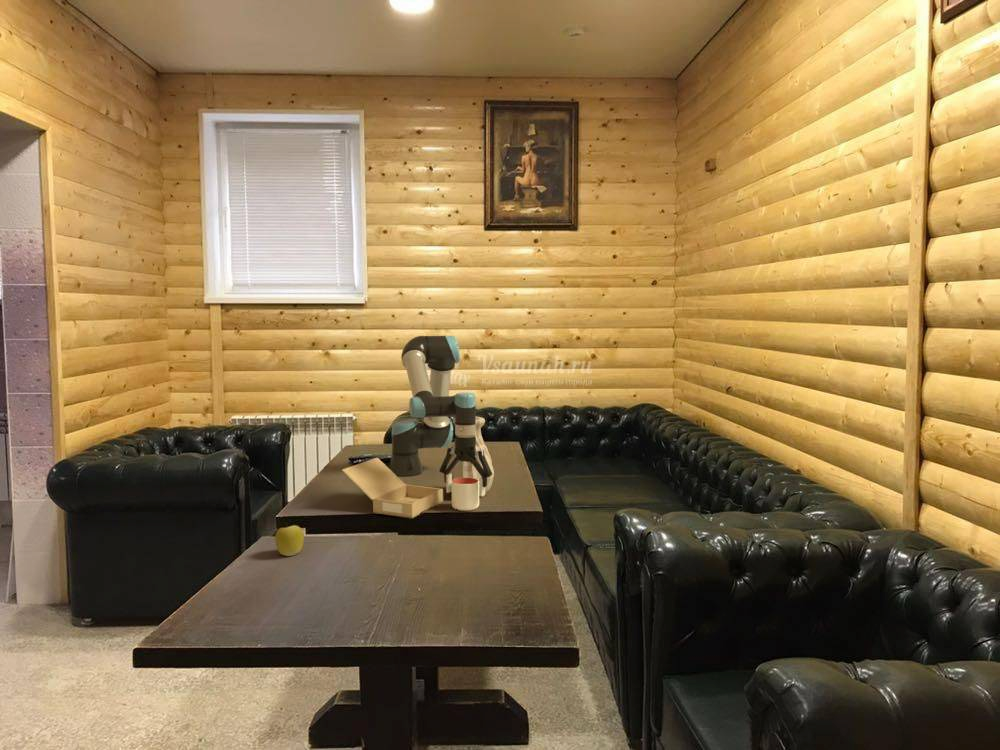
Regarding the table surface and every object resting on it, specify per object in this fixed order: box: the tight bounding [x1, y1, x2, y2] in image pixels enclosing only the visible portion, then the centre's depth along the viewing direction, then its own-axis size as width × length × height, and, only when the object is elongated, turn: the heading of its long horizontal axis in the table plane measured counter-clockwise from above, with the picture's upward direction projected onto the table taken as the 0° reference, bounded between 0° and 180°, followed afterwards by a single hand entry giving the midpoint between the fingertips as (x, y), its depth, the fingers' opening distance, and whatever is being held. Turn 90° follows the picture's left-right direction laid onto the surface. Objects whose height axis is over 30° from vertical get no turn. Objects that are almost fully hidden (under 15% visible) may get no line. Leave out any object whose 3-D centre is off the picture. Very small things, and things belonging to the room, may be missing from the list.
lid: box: [341, 457, 407, 501], centre depth 247 cm, size 22×16×1 cm
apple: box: [274, 522, 305, 557], centre depth 194 cm, size 8×8×10 cm
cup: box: [451, 478, 480, 512], centre depth 241 cm, size 10×10×10 cm
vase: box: [442, 416, 495, 497], centre depth 259 cm, size 20×20×30 cm
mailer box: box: [372, 484, 444, 519], centre depth 242 cm, size 22×16×5 cm
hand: (465, 493), depth 241 cm, fingers open, 13 cm apart
